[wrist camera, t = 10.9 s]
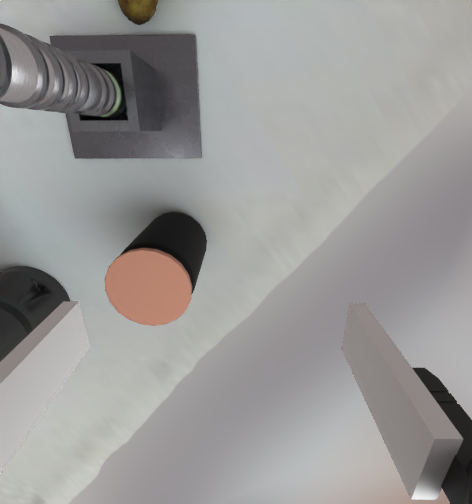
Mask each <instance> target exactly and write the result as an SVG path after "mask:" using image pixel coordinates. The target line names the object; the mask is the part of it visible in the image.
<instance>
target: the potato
mask: <svg viewBox="0 0 472 504" xmlns="http://www.w3.org/2000/svg"><path fill="white" fill-rule="evenodd" d="M118 2H119V5H120V8H121V10H122V12H123V13H124V15H125V16H126V17H127V18H128V19H129V20H130V21H132V22H133V23H135V24H137V25H141V24H144V23H146V22H148V21H149V20H150V19H151V17H152V16H153V15H154V13H155V11H156V5H157V3H158V0H118Z"/></svg>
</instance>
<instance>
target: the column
mask: <svg viewBox="0 0 472 504" xmlns="http://www.w3.org/2000/svg"><path fill="white" fill-rule="evenodd" d="M0 104H2V105H5V106H8V107H14V108H27V109H33V110H44V111H52V112H61V113H73V112H75V113H77V114H81V115H90V116H99V117H109V118H115V117H118V116H120V115H122V114H123V113H125V112H126V111H127V106H126V99H125V92H124V84H123V81H122V80H121V79H120V78H119V77H118V76H117V75H115V74H113V73H111V72H108V71H107V70H104V69H102V68H100V67H98V66H96V65H93V64H91V63H89V62H87V61H85V60H82V59H76V58H75V57H73V56H72V55H71V54H69V53H67V52H65V51H63V50H60V49H57V48H55V47H54V46H51V45H49V44H47V43H44V42H42V41H40V40H38V39H36V38H34V37H32V36H29V35H27V34H24V33H22V32H20V31H18V30H16V29H14V28H12V27H10V26H7V25H4V24H0Z"/></svg>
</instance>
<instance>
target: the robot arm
mask: <svg viewBox="0 0 472 504" xmlns="http://www.w3.org/2000/svg"><path fill="white" fill-rule="evenodd" d="M89 348H90V344H89V340H88V336H87V332H86V328H85V324H84V320H83V316H82V312H81V308H80V304H79V302H70V300H69V297H68V295H67V293H66V291H65V290H64V289H63V287H62V286H61V285H60V284H59V283H58V282H57V281H56V280H55V279H54V278H52V277H51V276H49V275H48V274H46V273H44V272H42V271H40V270H37V269H34V268H29V267H13V268H9V269H7V270H4V271H3V272H1V273H0V474H1V473H2V471H3V470H4V469H5V467H6V466H7V464H8V463H9V461H10V460H11V459H12V457H13V456H14V454H15V453H16V452H17V450H18V449H19V447H20V446H21V444H22V443H23V442H24V440H25V439H26V437H27V436H28V434H29V433H30V432H31V430H32V429H33V427H34V426H35V424H36V423H37V422H38V420H39V419H40V417H41V416H42V414H43V413H44V412H45V410H46V409H47V407H48V406H49V404H50V403H51V402H52V400H53V399H54V397H55V396H56V395H57V393H58V392H59V390H60V389H61V387H62V386H63V385H64V383H65V382H66V380H67V379H68V377H69V376H70V375H71V373H72V372H73V370H74V369H75V367H76V366H77V365H78V363H79V362H80V360H81V359H82V357H83V356H84V355H85V353H86V352H87V350H88V349H89ZM341 349H342V351H343V353H344V355H345V358H346V360H347V362H348V364H349V366H350V368H351V370H352V373H353V375H354V377H355V379H356V381H357V383H358V386H359V388H360V390H361V392H362V394H363V396H364V399H365V401H366V403H367V405H368V407H369V409H370V412H371V414H372V416H373V418H374V420H375V422H376V424H377V427H378V429H379V431H380V433H381V435H382V438H383V440H384V442H385V444H386V446H387V448H388V450H389V453H390V455H391V457H392V459H393V461H394V464H395V466H396V468H397V470H398V472H399V474H400V477H401V479H402V481H403V483H404V485H405V487H406V490H407V492H408V494H409V496H410V498H411V499H418V500H437V497H438V495H439V493H440V491H441V488H442V489H443V490H444V492H445V494H446V496H447V498H448V499H449V501H450V504H472V420H471V419H470V417H469V416H468V415H467V414H466V413H465V411H464V410H463V409H462V407H461V406H460V405H459V404H457V401H456V400H455V399H454V397H453V396H452V395H451V394H449V393H448V390H447V389H446V387H445V386H444V385H443V384H442V382H441V381H440V380H439V379H438V378H437V377H436V376H435V375H433V374H432V373H431V372H429V371H428V370H427V369H425V368H412V367H411V366H410V364H409V363H408V362H407V360H406V359H405V358H404V356H403V355H402V353H401V352H400V351H399V349H398V348H397V346H396V345H395V344H394V342H393V341H392V339H391V338H390V337H389V335H388V334H387V333H386V331H385V330H384V328H383V327H382V326H381V324H380V323H379V322H378V320H377V319H376V317H375V316H374V315H373V313H372V312H371V311H370V309H369V308H368V306H367V305H366V304H365V303H349V308H348V313H347V319H346V325H345V330H344V337H343V342H342V348H341Z"/></svg>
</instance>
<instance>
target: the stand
mask: <svg viewBox="0 0 472 504" xmlns="http://www.w3.org/2000/svg"><path fill="white" fill-rule="evenodd" d="M50 41H51V46H54V47H55V48H57V49H60V50H63V51H65V52H67V53H69V54H71V55H72V56H73V57H75V58H76V59H82V60H85V61H87V62H89V63H91V64H93V65H96V66H98V67H100V68H102V69H104V70H107V71H108V72H111V73H113V74H115V75H117V76H118V77H119V78H120V79H121V80H122V81H123V84H124V92H125V99H126V106H127V111H126V112H125V113H123V114H122V115H120V116H118V117H115V118H109V117H99V116H90V115H81V114H77V113H75V112H73V113H66V118H67V122H68V127H69V132H70V137H71V141H72V146H73V151H74V156H75V158H202V152H201V131H200V110H199V89H198V68H197V47H196V36H195V35H115V36H50Z"/></svg>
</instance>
